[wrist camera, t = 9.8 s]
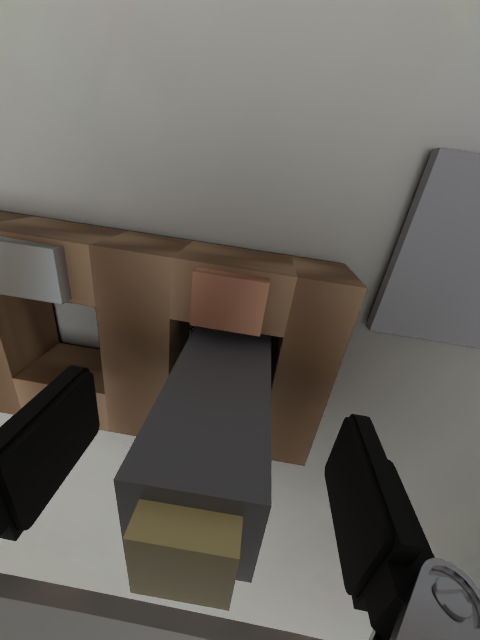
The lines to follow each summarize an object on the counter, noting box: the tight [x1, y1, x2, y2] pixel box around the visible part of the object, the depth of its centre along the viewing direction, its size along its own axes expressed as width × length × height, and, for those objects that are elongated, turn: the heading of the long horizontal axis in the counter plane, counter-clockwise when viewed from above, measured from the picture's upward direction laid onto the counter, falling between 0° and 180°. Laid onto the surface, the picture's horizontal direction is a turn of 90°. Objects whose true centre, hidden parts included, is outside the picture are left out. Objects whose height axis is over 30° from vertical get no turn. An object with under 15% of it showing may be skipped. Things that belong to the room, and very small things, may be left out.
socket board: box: [0, 211, 368, 466], centre depth 14 cm, size 18×10×4 cm, turn 83°
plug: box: [114, 326, 271, 611], centre depth 11 cm, size 4×4×11 cm
